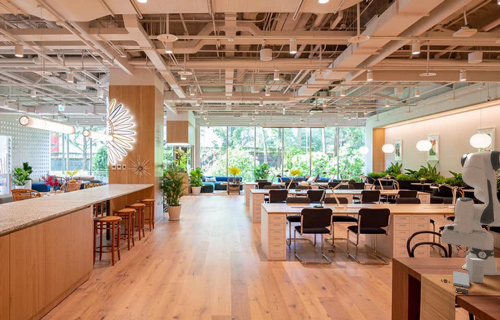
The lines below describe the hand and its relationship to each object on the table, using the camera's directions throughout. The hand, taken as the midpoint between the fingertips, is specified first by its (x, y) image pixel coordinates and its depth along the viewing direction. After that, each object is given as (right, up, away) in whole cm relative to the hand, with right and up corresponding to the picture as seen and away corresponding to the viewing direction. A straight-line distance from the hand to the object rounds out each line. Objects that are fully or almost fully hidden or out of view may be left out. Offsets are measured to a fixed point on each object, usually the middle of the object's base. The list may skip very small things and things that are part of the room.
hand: (461, 254), depth 185 cm
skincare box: (+8, -15, +2) cm, 18 cm away
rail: (-11, -14, -18) cm, 25 cm away
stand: (-10, -14, -2) cm, 17 cm away
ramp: (-3, -15, -3) cm, 15 cm away
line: (-7, -14, -11) cm, 19 cm away
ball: (0, -2, 0) cm, 2 cm away
